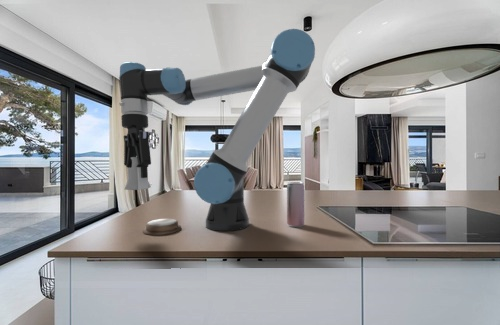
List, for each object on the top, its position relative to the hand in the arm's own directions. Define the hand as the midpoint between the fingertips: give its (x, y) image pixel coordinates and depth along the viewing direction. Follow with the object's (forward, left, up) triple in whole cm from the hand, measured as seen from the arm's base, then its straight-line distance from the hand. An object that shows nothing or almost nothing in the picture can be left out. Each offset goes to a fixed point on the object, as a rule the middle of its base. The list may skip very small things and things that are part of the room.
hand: (137, 188), depth 79 cm
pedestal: (-6, -5, -15) cm, 16 cm away
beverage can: (-51, -11, -15) cm, 54 cm away
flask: (0, 0, -1) cm, 1 cm away
